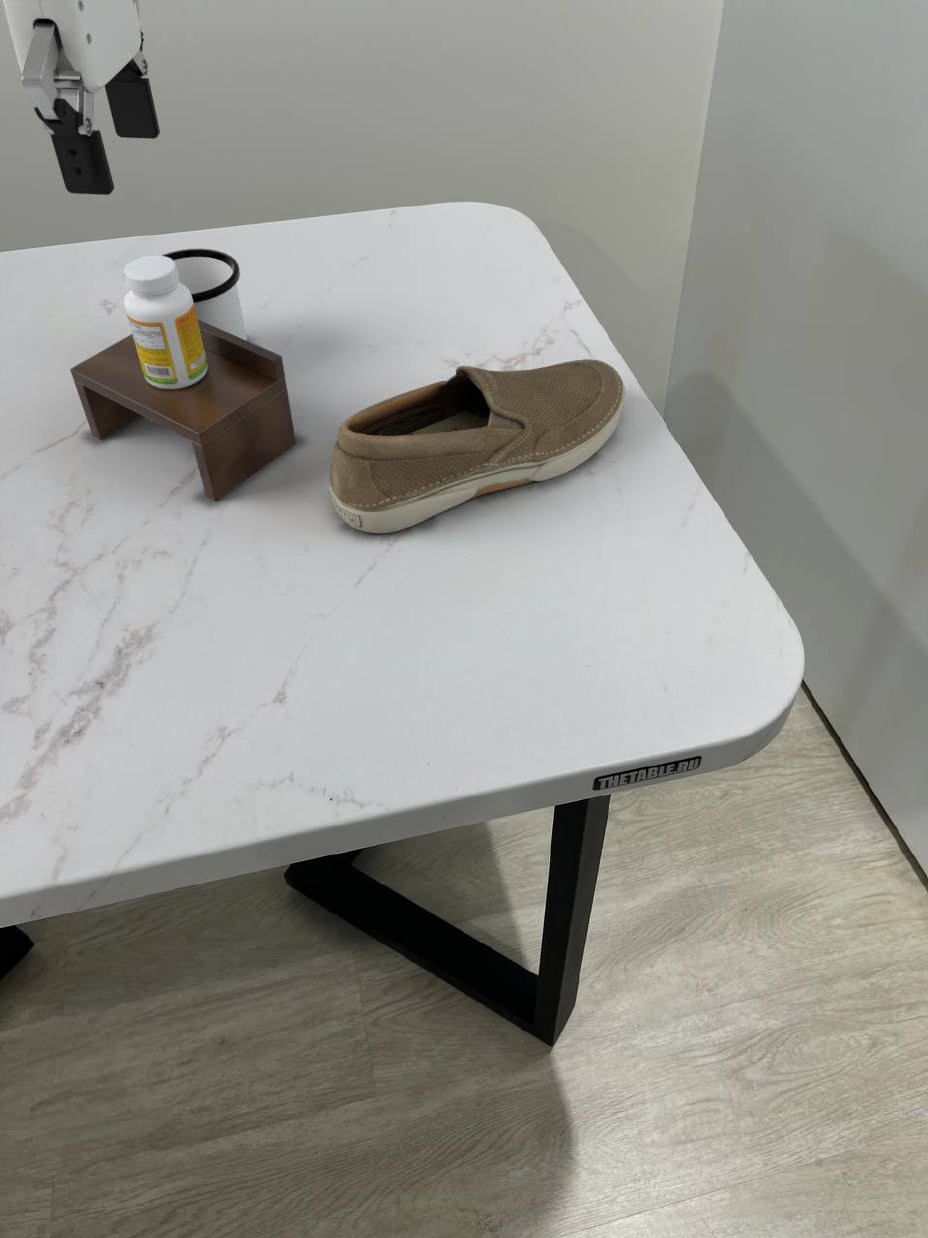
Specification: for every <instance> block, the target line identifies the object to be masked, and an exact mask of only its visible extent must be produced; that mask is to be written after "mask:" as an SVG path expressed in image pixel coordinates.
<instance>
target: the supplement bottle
mask: <svg viewBox="0 0 928 1238" xmlns="http://www.w3.org/2000/svg"><path fill="white" fill-rule="evenodd" d="M123 271H124V276H125V282H126V285H127V287H128V289H129V291H128V292H127V293H126V294H125V297H124V301H123V304H124V310H125V314H126V317H127V321H128V325H129V328H130V331H131V334H132V335H133V338H134V342H135V345H136V349H137V352H138V356H139V359H140V363H141V367H142V370H143V373H144V376H145V379H146V380H147V382H148V383H150V384H151V385H153V386H155V387H158V388H161V389H180V388H184V387H187V386H190V385H192V384H194V383H196V382H198V381H199V380H200V379H202V378H203V377H204V375H205V374H206V372H207V360H206V355H205V351H204V347H203V342H202V338H201V334H200V329H199V325H198V320H197V316H196V311H195V307H194V302H193V299H192V295H191V293H190V291H189V289H188V288H187V287H186V286H184V285H183V284H181V283H179V275H178V272H177V268H176V264H175V262H174V261H173V260H172V259H170V258H168V257H165V256H161V255H147V256H142V257H139V258H136V259H134V260H132V261H130V262H129V263H127V265H126V266H125V267H124V270H123Z"/></svg>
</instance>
